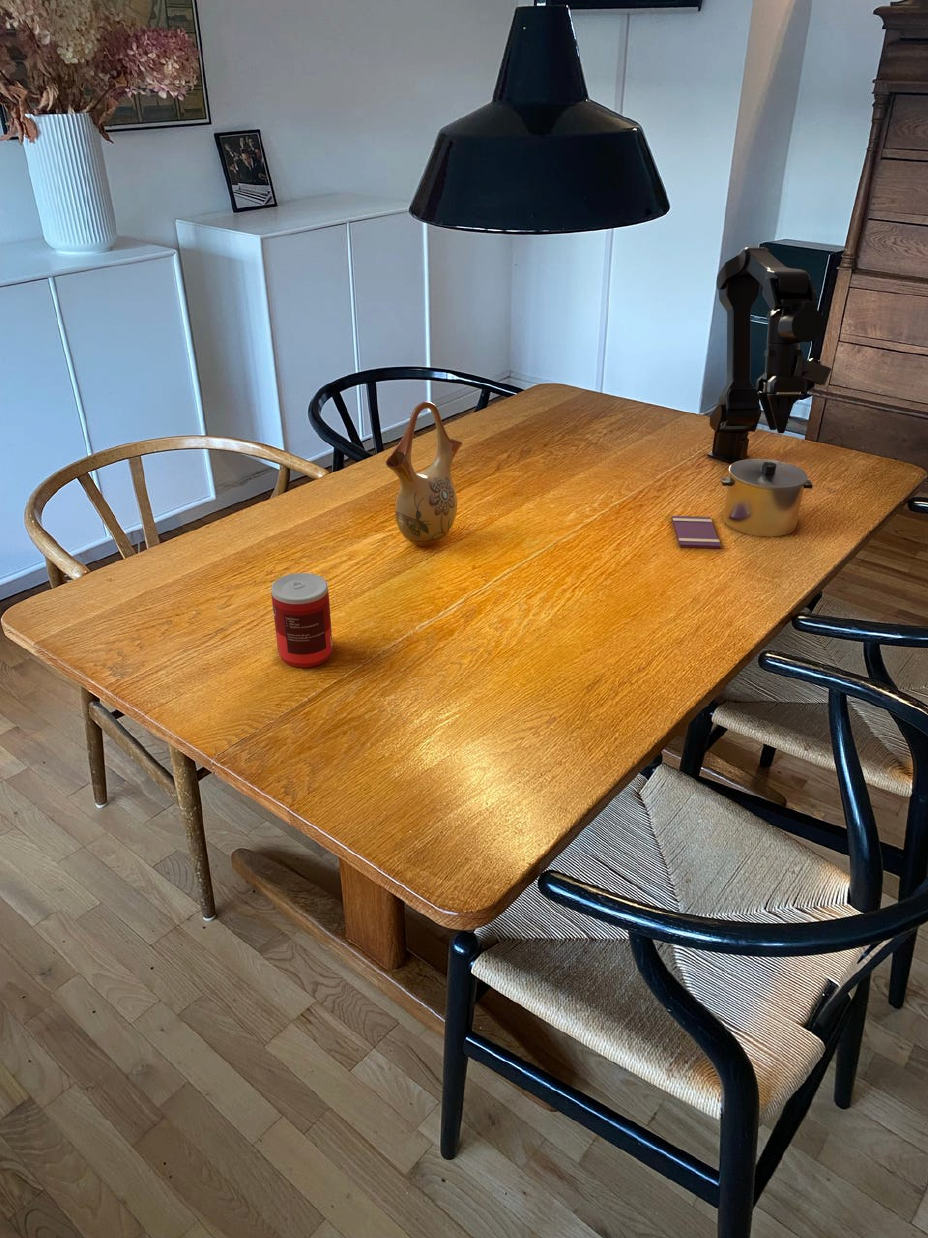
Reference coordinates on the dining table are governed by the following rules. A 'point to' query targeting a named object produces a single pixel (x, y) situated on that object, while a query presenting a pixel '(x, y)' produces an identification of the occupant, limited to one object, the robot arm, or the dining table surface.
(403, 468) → the ceramic vessel
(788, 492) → the steel pot
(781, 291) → the robot arm
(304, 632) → the canned food
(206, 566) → the dining table surface
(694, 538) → the purple striped coaster
